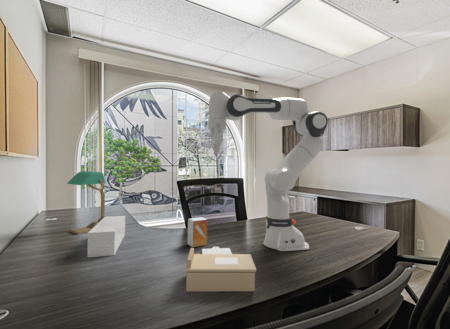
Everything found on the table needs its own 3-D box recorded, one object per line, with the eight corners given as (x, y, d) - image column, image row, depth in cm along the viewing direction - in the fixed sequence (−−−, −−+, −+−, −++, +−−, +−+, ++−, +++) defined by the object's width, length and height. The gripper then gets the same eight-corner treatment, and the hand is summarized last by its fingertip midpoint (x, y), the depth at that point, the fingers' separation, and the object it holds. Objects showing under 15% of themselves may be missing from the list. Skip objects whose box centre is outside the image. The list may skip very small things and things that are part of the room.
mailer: (249, 272, 90) (249, 257, 90) (254, 291, 77) (255, 272, 77) (190, 272, 89) (190, 256, 89) (186, 291, 76) (186, 272, 76)
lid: (250, 256, 90) (250, 247, 90) (256, 271, 77) (256, 261, 77) (189, 255, 89) (189, 247, 89) (185, 271, 76) (185, 261, 76)
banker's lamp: (114, 228, 148) (115, 171, 148) (78, 236, 130) (79, 172, 130) (99, 224, 156) (100, 171, 156) (64, 231, 139) (65, 171, 139)
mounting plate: (201, 250, 113) (201, 246, 113) (228, 250, 115) (228, 246, 115) (203, 267, 95) (203, 262, 95) (235, 266, 97) (235, 261, 97)
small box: (192, 247, 116) (193, 221, 116) (187, 244, 121) (187, 218, 121) (207, 245, 120) (207, 219, 120) (201, 241, 126) (201, 216, 126)
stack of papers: (114, 255, 105) (114, 231, 105) (87, 257, 102) (87, 232, 102) (124, 234, 136) (125, 215, 136) (104, 235, 133) (104, 216, 133)
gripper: (226, 122, 108) (225, 153, 108) (221, 129, 128) (220, 154, 128) (212, 121, 107) (211, 152, 107) (209, 128, 127) (208, 154, 127)
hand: (216, 153), depth 118 cm, fingers open, 8 cm apart
